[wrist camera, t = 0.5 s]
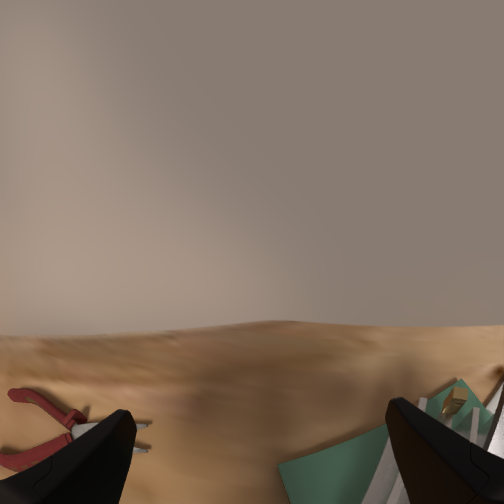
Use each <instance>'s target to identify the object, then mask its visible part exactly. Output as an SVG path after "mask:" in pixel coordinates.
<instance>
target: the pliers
mask: <svg viewBox="0 0 504 504" xmlns="http://www.w3.org/2000/svg"><path fill="white" fill-rule="evenodd" d="M8 396H9V398H10V399H11V400H12V401H14V402H23V403H32V404H36V405H38V406H39V407H41V408H42V409H44V410H45V411H46V412H47V413H48V414H49V415H51V416H52V417H53V418H54V419H55V420H57V421H58V422H59V423H60V424H62V425H63V426H64V427H66V428H67V429H68V430H70V431H71V432H72V433H71V434H70V433H69V432H68V433H66V434H62V435H60V437H57V438H55V439H53V440H51V441H48V442H46V443H44V444H41V445H39V446H37V447H34V448H32V449H29V450H27V451H25V452H22V453H19V454H16V455H4V454H2V453H0V466H3V467H5V468H8V469H10V470H13V471H15V472H21V471H23V470H26V469H28V468H30V467H31V466H33V465H35V464H37V463H39V462H40V461H42V460H44V459H45V458H47V457H49V456H50V455H53V453H55V452H56V451H58V450H60V449H61V448H63V447H64V446H66V445H67V444H69V443H70V442H72V441H73V440H75V439H76V438H78V437H79V436H81V435H82V434H83V433H85V432H86V431H88V430H89V429H91V428H92V427H94V426H95V425H97V424H98V423H89V424H85V422H86V421H87V418H86V417H85V416H84V415H83V414H82V413H81V412H80V411H78V410H77V409H72V410H71V411H70V413H69V414H68V415H67V414H66V413H64V412H63V411H62V410H60V409H59V408H58V407H57V406H55V405H54V404H53V403H51V402H50V401H49V400H48V399H46V398H45V397H44V396H43V395H41V394H39V393H38V392H36V391H34V390H31V389H14V388H13V389H10V390H9V391H8ZM136 426H137V430H139V429H142V428H145V427H148V425H147V424H136ZM143 452H148V450H145V449H140V448H136V447H134V449H133V453H143Z"/></svg>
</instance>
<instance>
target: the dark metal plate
mask: <svg viewBox="0 0 504 504" xmlns="http://www.w3.org/2000/svg"><path fill="white" fill-rule="evenodd" d="M483 449H485V450H487V451H488V452H490V453H493V454H495V455H497V456H499V457H501V458H503V459H504V384H503V388H502V391H501V395H500V399H499V402H498V406H497V409H496V412H495V415H494V418H493V421H492V424H491V427H490V430H489V433H488V435H487V438H486V441H485V443H484V446H483Z"/></svg>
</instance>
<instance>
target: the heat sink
mask: <svg viewBox="0 0 504 504" xmlns="http://www.w3.org/2000/svg"><path fill="white" fill-rule="evenodd" d="M467 397H468V389H466V388H461V387H456V386H454V387H453V389H452V390H451V392H450V393H449V395H448V396H447V397H446V399H445V400H444V402H443V408H442V411H441V412H440V414H439V415H438V416H437V417H436V420H438V421H439V422H441V423H443V424H444V425H446V426H447V427H449V428H450V429H451V425H452V418H453V415H456V414H457V412H458V411H459V410H460V409H461V407H462V406H463V405H464V404H465V402H466V401H467ZM426 403H427V398H423V397H420V398H419V400H418V401H417V403H416V405H415V406H416V407H418V408H419V409H421V410H422V411H424V412H425V408H426ZM479 410H480V408H477V407H473V408H472V409H471V411H470V412H469V413H468V414H467V415H466V416H465V418H464V419H463V420H462V421H461V422H460V423H459V424H458V425H457V426H456V427H455V429H454V431H455V432H457V433H458V434H460V435H461V436H463V437H465V438H466V439H468V440H470V442H473V443H475V444H476V445H478V446H480V447H481V448H483V446H484V443H485V441H486V438H487V435H488V433H489V430H490V427H491V424H492V421H493V418H494V415H495V413H494V414H493V415H492V416H491V417H490V419H489V420H488V421H487V422H486V423H485V424H484V425H483V426H482V427H481V428H480V429H479V430H478V422H479ZM495 412H496V410H495ZM358 504H410V502H409V499H408V495H407V492H406V489H405V486H404V483H403V481H402V478H401V475H400V472H399V469H398V466H397V463H396V461H395V458H394V454H393V450H392V446H391V441H390V437H389V433H387V436H386V439H385V442H384V445H383V447H382V450H381V453H380V455H379V458H378V461H377V463H376V465H375V468H374V470H373V473H372V475H371V477H370V480H369V482H368V484H367V486H366V489H365V491H364V493H363V495H362V497H361V499H360V501H359V503H358Z"/></svg>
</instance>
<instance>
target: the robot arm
mask: <svg viewBox="0 0 504 504" xmlns="http://www.w3.org/2000/svg"><path fill="white" fill-rule="evenodd" d="M385 420H386V424H387V429H388V433H389V437H390V441H391V446H392V450H393V454H394V458H395V461H396V463H397V466H398V469H399V472H400V475H401V478H402V481H403V483H404V486H405V489H406V492H407V495H408V499H409V502H410V504H504V459H503V458H501V457H499V456H497V455H495V454H493V453H490V452H488V451H487V450H485V449H483V448H481V447H480V446H478V445H476V444H475V443H473V442H470V440H468V439H466V438H465V437H463V436H461V435H460V434H458V433H457V432H455V431H454V430H452V429H450V428H449V427H447V426H446V425H444V424H443V423H441V422H439V421H438V420H436V419H435V418H433V417H432V416H430V415H429V414H427V413H425V412H424V411H422V410H421V409H419V408H418V407H416V406H415V405H413V404H412V403H410V402H409V401H407V400H406V399H404V398H403V397H397V398H393V399H391V400H390V401H389V404H388V408H387V411H386V415H385ZM136 433H137V426H136V423H135V421H134V419H133V417H132V415H131V413H130V412H129V411H128V410H122V409H118V410H116V411H115V412H114V413H112V414H111V415H109V416H108V417H107V418H105V419H104V420H102V421H101V422H99V423H98V424H97V425H95V426H94V427H92V428H91V429H89V430H88V431H86V432H85V433H83V434H82V435H81V436H79V437H78V438H76V439H75V440H73V441H72V442H70V443H69V444H67V445H66V446H64V447H63V448H61V449H60V450H58V451H56V452H55V453H53V455H50V456H49V457H47V458H45V459H44V460H42V461H40V462H39V463H37V464H35V465H33V466H31V467H30V468H28V469H26V470H23V471H21V472H19V473H17V474H15V475H13V476H10V477H8V478H6V479H3V480H0V504H119V501H120V497H121V494H122V491H123V487H124V484H125V481H126V477H127V474H128V471H129V468H130V464H131V459H132V454H133V449H134V443H135V438H136Z"/></svg>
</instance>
